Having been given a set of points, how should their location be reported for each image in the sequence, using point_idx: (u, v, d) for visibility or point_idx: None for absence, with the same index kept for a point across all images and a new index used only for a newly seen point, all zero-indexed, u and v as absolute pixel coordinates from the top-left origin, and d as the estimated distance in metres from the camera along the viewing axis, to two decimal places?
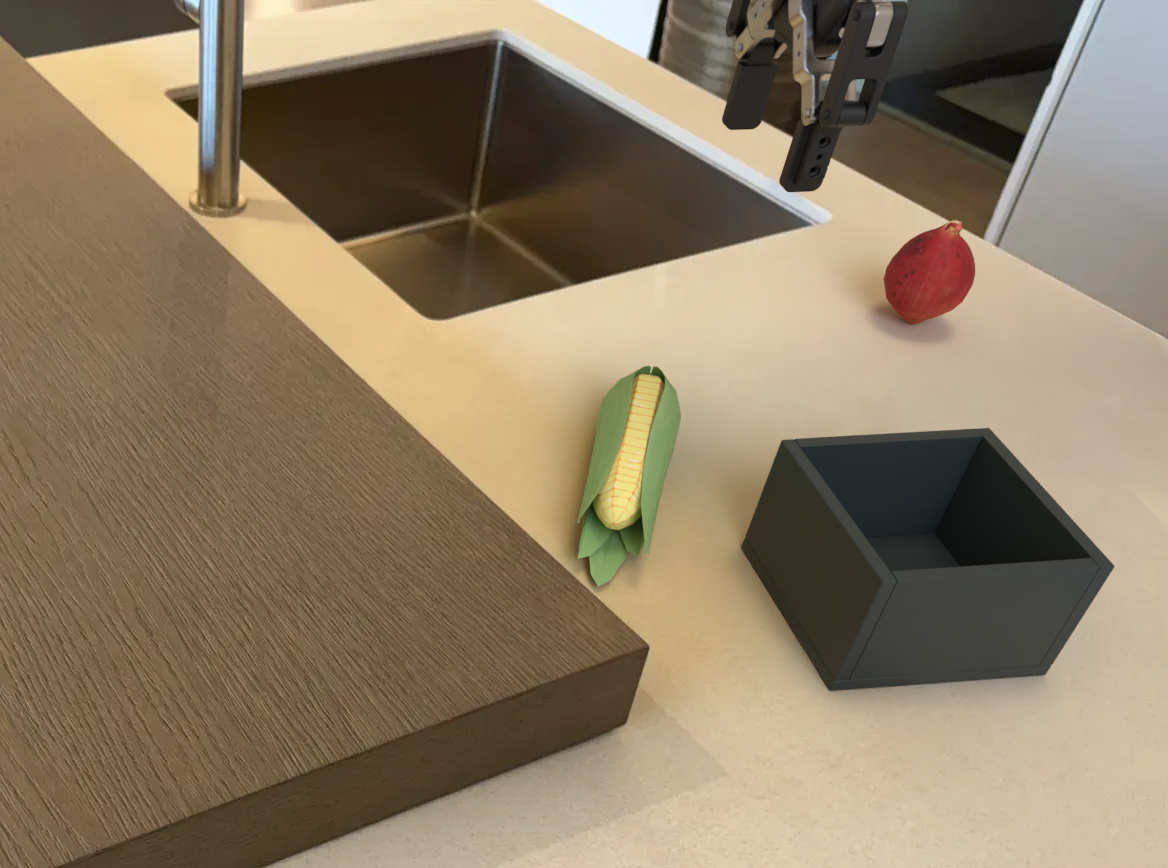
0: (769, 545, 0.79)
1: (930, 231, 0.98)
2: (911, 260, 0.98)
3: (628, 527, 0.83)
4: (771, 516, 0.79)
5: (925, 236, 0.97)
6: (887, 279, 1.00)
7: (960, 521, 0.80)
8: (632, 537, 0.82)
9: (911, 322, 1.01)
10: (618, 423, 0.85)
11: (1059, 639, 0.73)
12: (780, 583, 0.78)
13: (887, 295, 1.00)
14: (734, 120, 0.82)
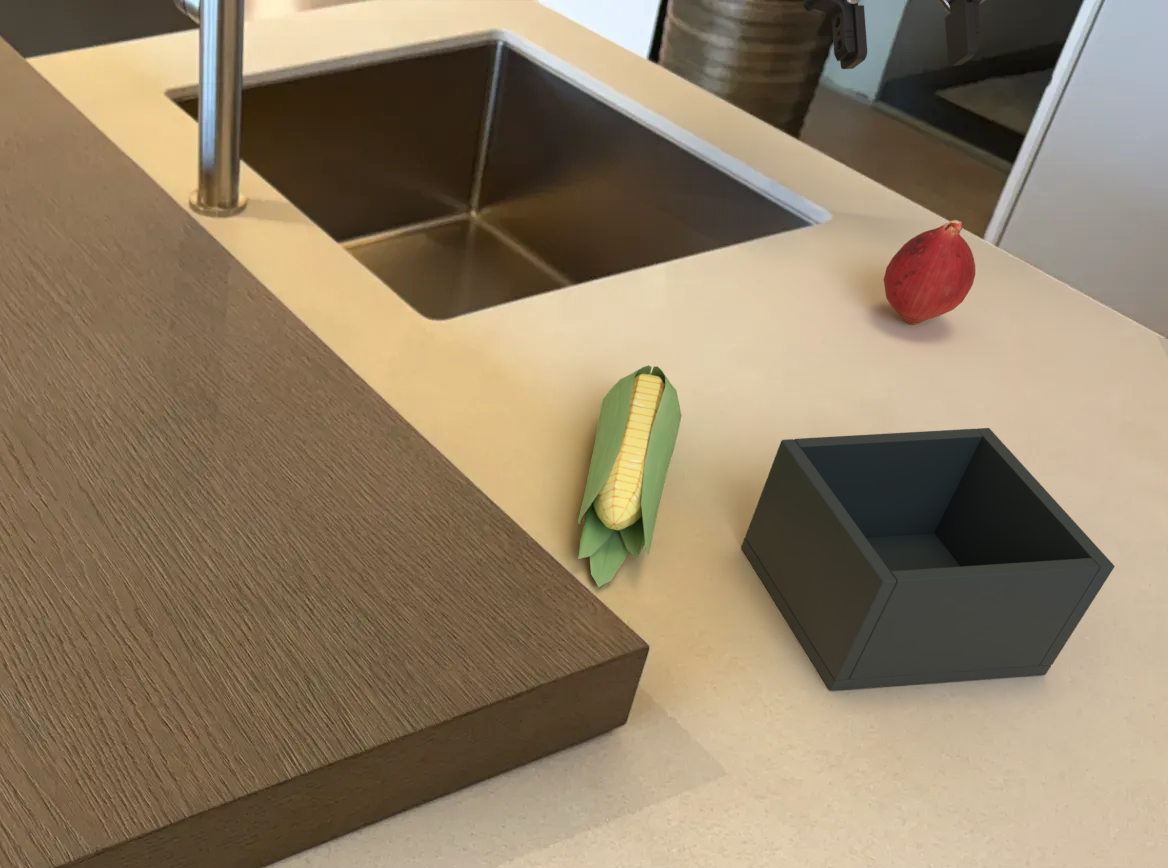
0: (769, 545, 0.79)
1: (930, 231, 0.98)
2: (911, 260, 0.98)
3: (628, 527, 0.83)
4: (771, 516, 0.79)
5: (925, 236, 0.97)
6: (887, 279, 1.00)
7: (960, 521, 0.80)
8: (632, 537, 0.82)
9: (911, 322, 1.01)
10: (618, 423, 0.85)
11: (1059, 639, 0.73)
12: (780, 583, 0.78)
13: (887, 295, 1.00)
14: (952, 57, 1.00)
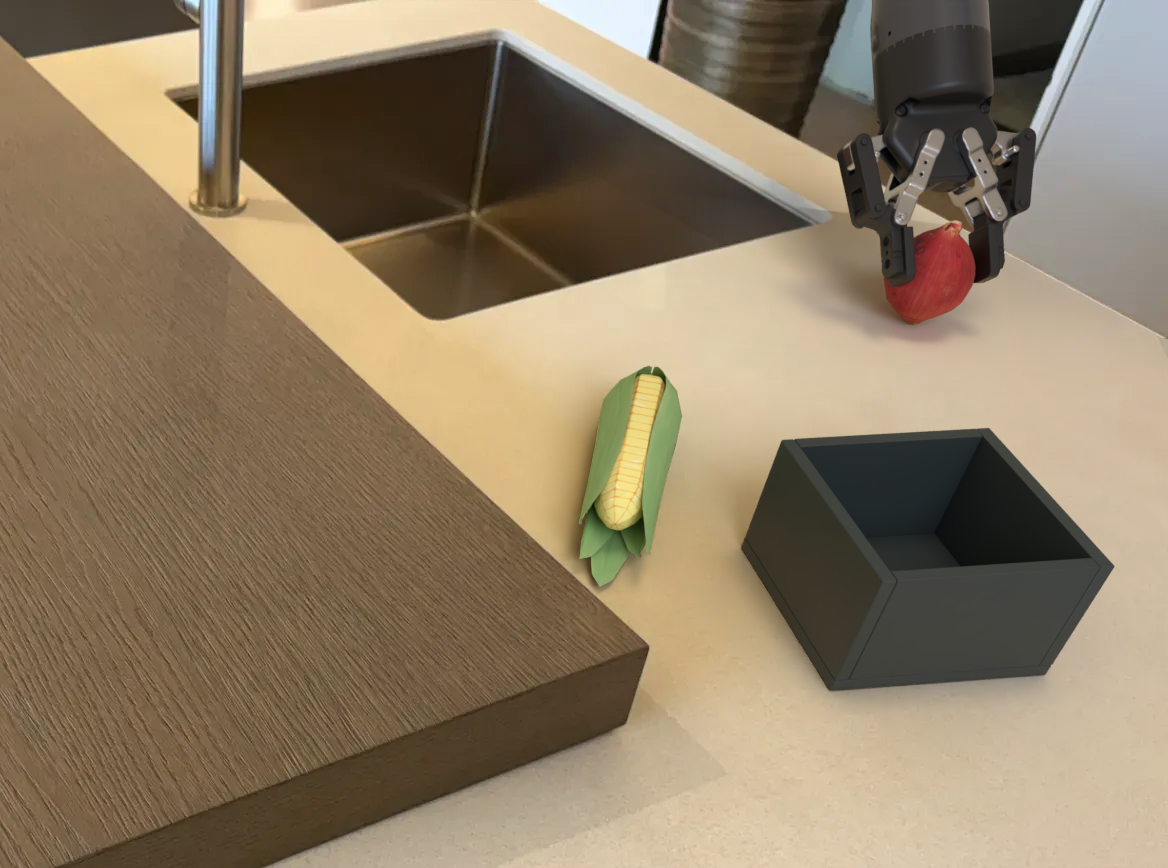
0: (769, 545, 0.79)
1: (930, 231, 0.97)
2: None
3: (629, 527, 0.83)
4: (771, 516, 0.79)
5: (925, 236, 0.97)
6: (887, 279, 1.00)
7: (960, 521, 0.80)
8: (633, 537, 0.82)
9: (911, 322, 1.01)
10: (619, 423, 0.85)
11: (1059, 639, 0.73)
12: (780, 583, 0.78)
13: (887, 295, 1.00)
14: (975, 275, 0.99)
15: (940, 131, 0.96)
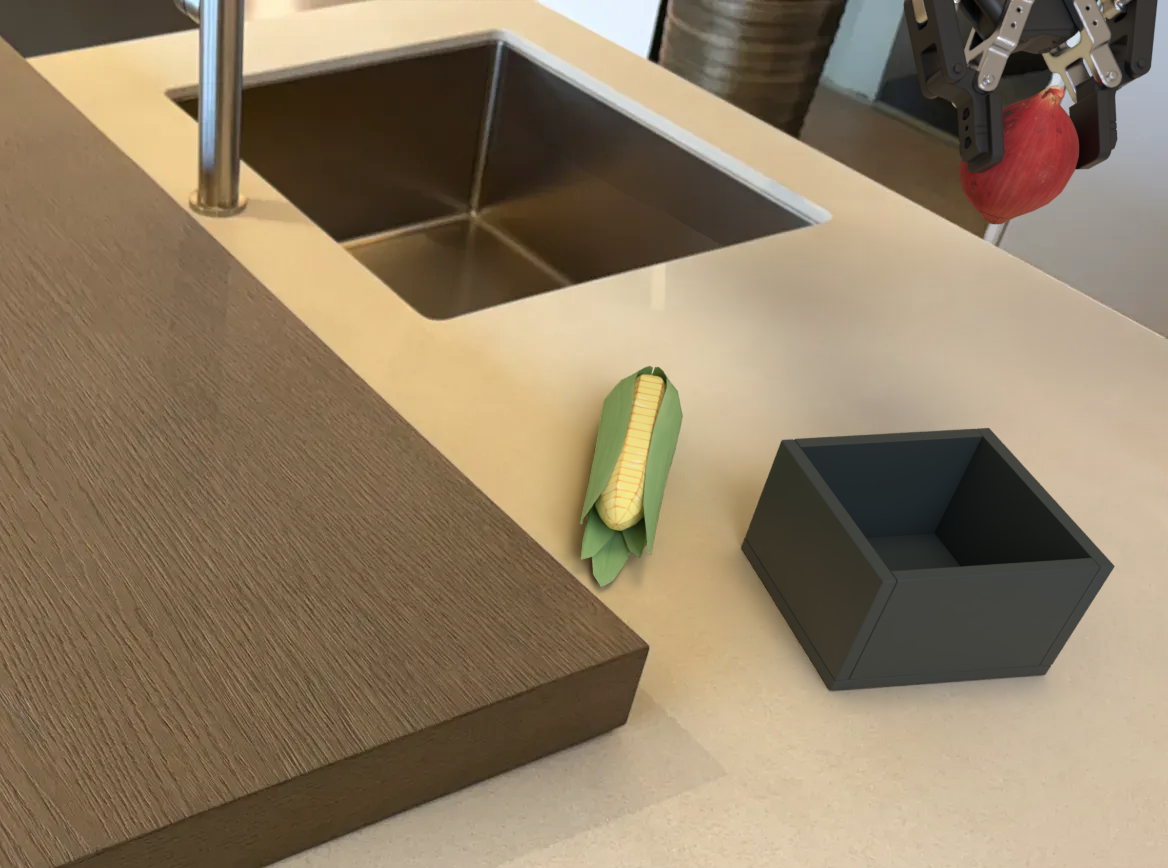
0: (769, 545, 0.79)
1: (1022, 101, 0.77)
2: None
3: (630, 528, 0.83)
4: (771, 516, 0.79)
5: (1016, 107, 0.76)
6: (965, 165, 0.79)
7: (960, 521, 0.80)
8: (635, 538, 0.82)
9: (993, 222, 0.80)
10: (620, 423, 0.85)
11: (1059, 639, 0.73)
12: (780, 583, 0.78)
13: (964, 186, 0.79)
14: None
15: None
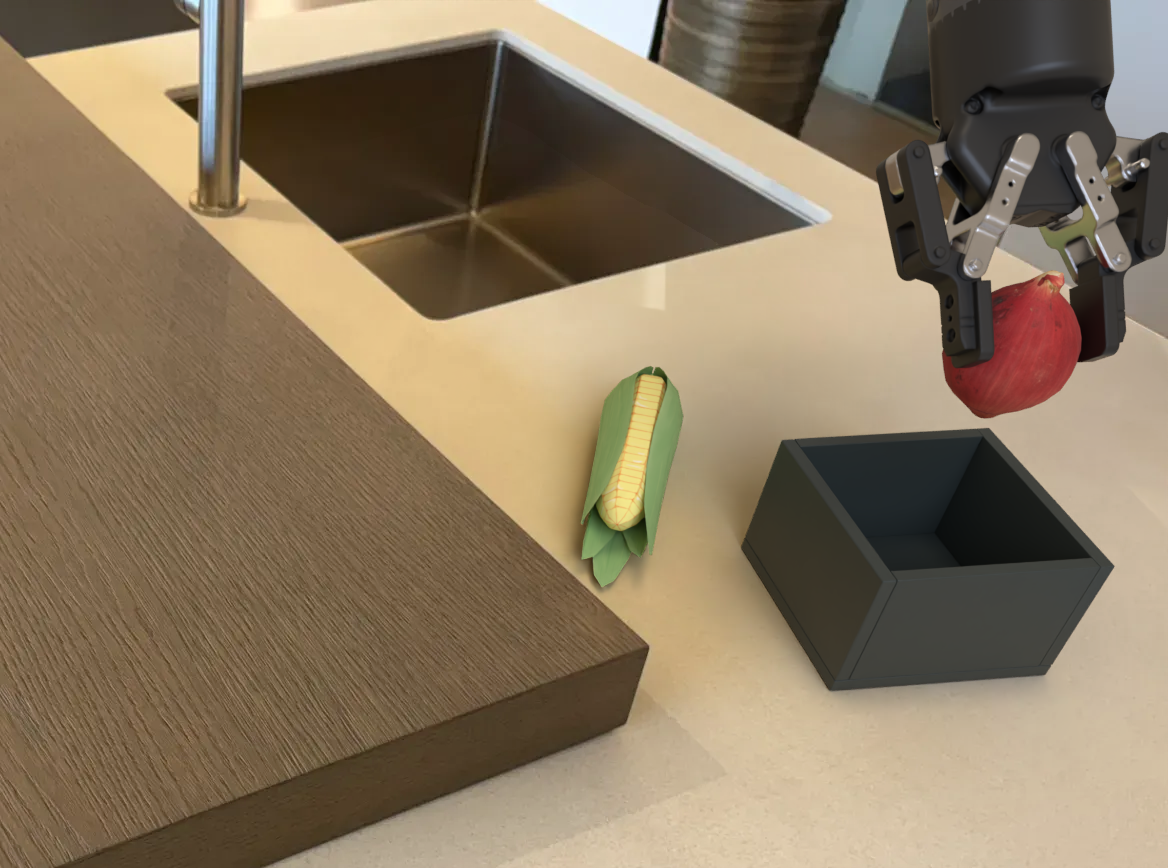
0: (769, 545, 0.79)
1: (1015, 286, 0.65)
2: None
3: (631, 528, 0.83)
4: (771, 516, 0.79)
5: (1008, 294, 0.65)
6: None
7: (960, 521, 0.80)
8: (635, 538, 0.82)
9: (981, 416, 0.69)
10: (621, 424, 0.85)
11: (1059, 639, 0.73)
12: (780, 583, 0.78)
13: (947, 378, 0.68)
14: None
15: (1033, 137, 0.63)
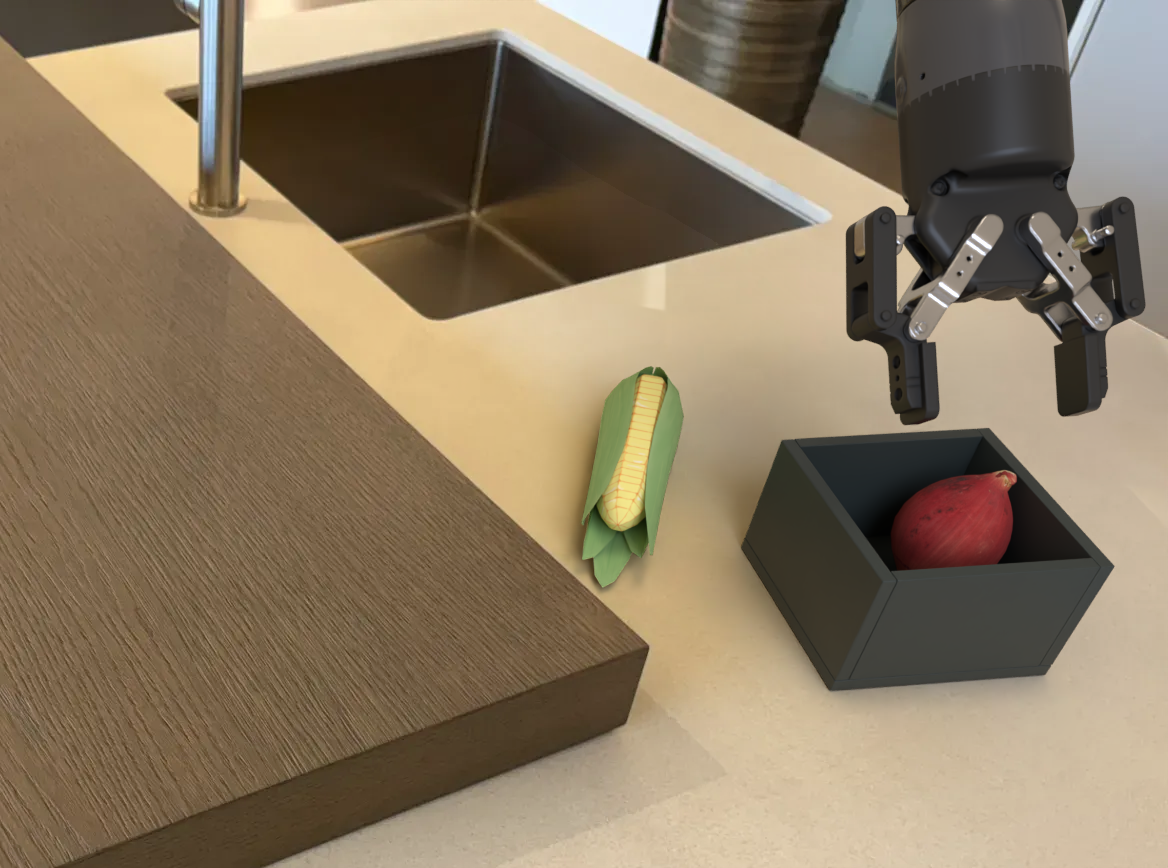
0: (769, 545, 0.79)
1: None
2: (950, 495, 0.75)
3: (632, 528, 0.83)
4: (771, 516, 0.79)
5: (970, 477, 0.75)
6: (907, 512, 0.76)
7: None
8: (636, 538, 0.82)
9: None
10: (621, 424, 0.85)
11: (1059, 639, 0.73)
12: (780, 583, 0.78)
13: (900, 533, 0.76)
14: (1064, 405, 0.69)
15: (997, 218, 0.66)
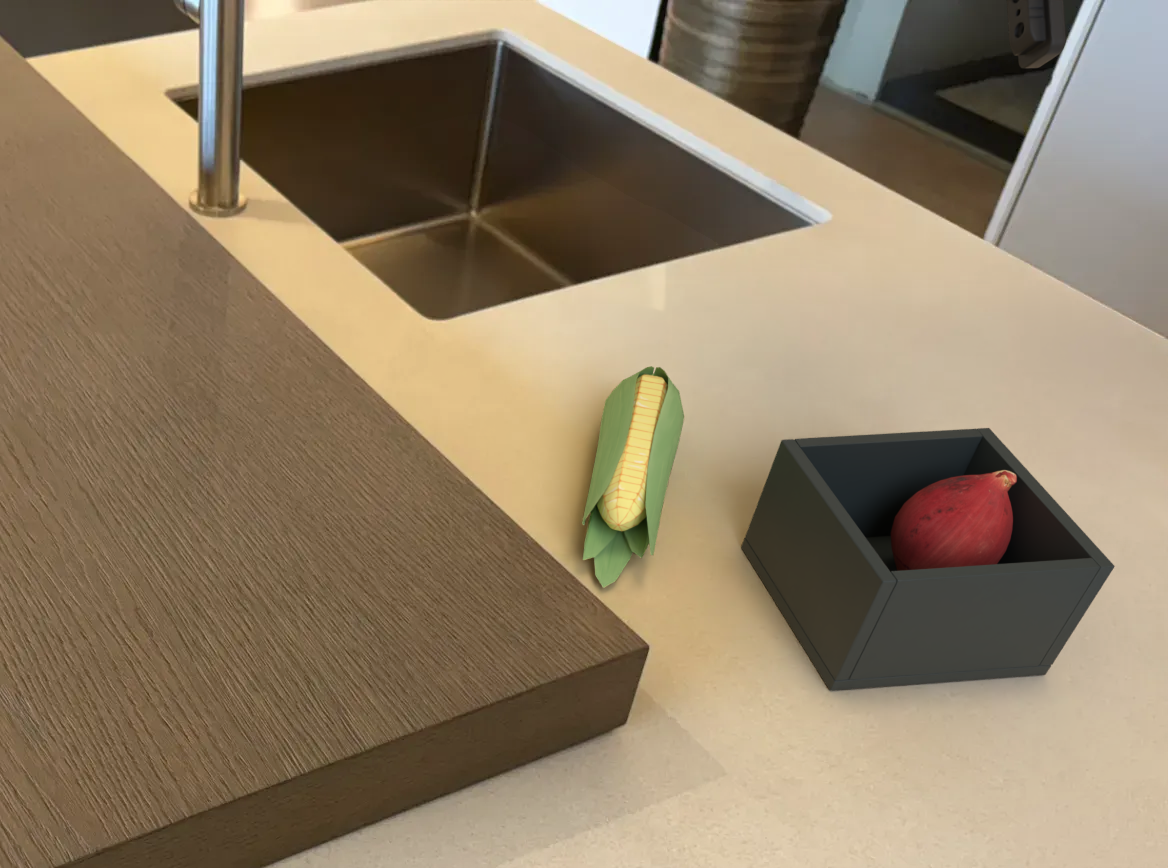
0: (769, 545, 0.79)
1: None
2: (950, 495, 0.75)
3: (632, 528, 0.83)
4: (771, 516, 0.79)
5: (970, 477, 0.75)
6: (907, 512, 0.76)
7: None
8: (636, 538, 0.82)
9: None
10: (622, 424, 0.85)
11: (1059, 639, 0.73)
12: (780, 583, 0.78)
13: (900, 533, 0.76)
14: None
15: None
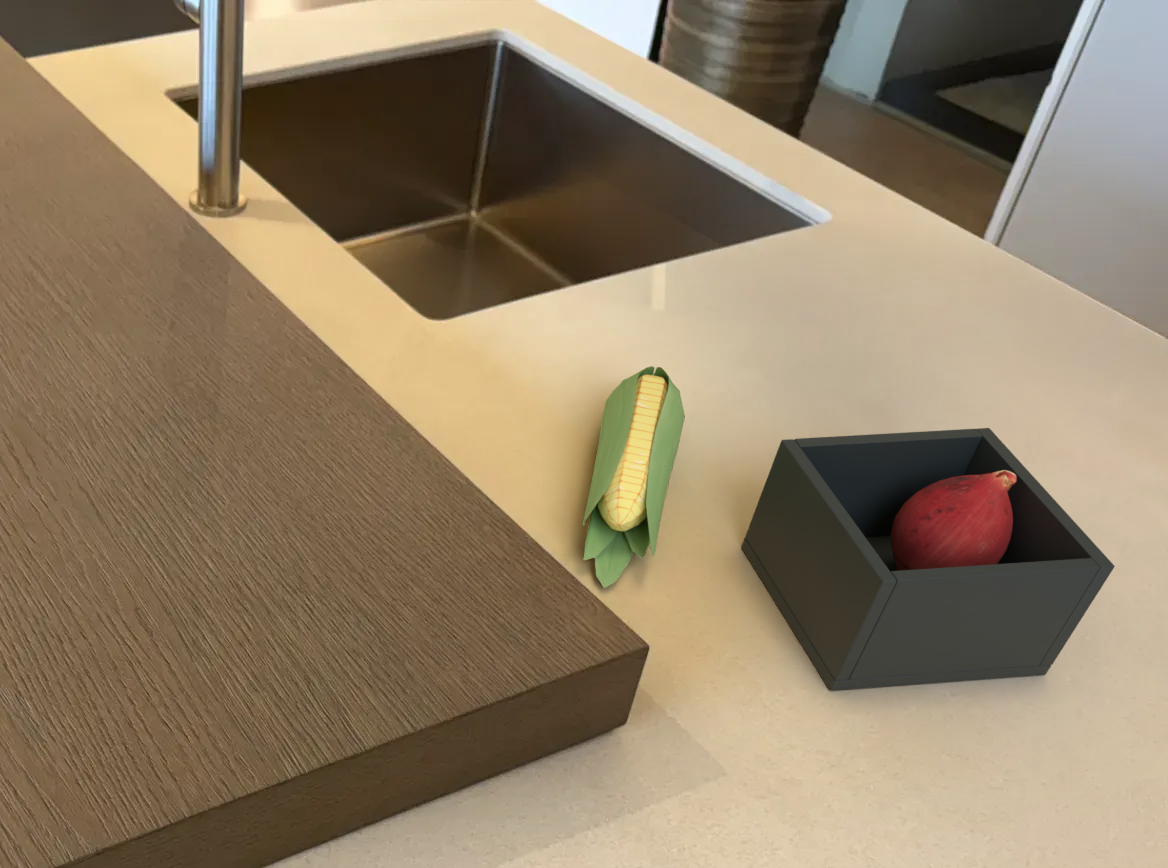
0: (769, 545, 0.79)
1: None
2: (950, 495, 0.75)
3: (633, 528, 0.83)
4: (771, 516, 0.79)
5: (970, 477, 0.75)
6: (907, 512, 0.76)
7: None
8: (637, 538, 0.82)
9: None
10: (622, 424, 0.85)
11: (1059, 639, 0.73)
12: (780, 583, 0.78)
13: (900, 533, 0.76)
14: None
15: None
